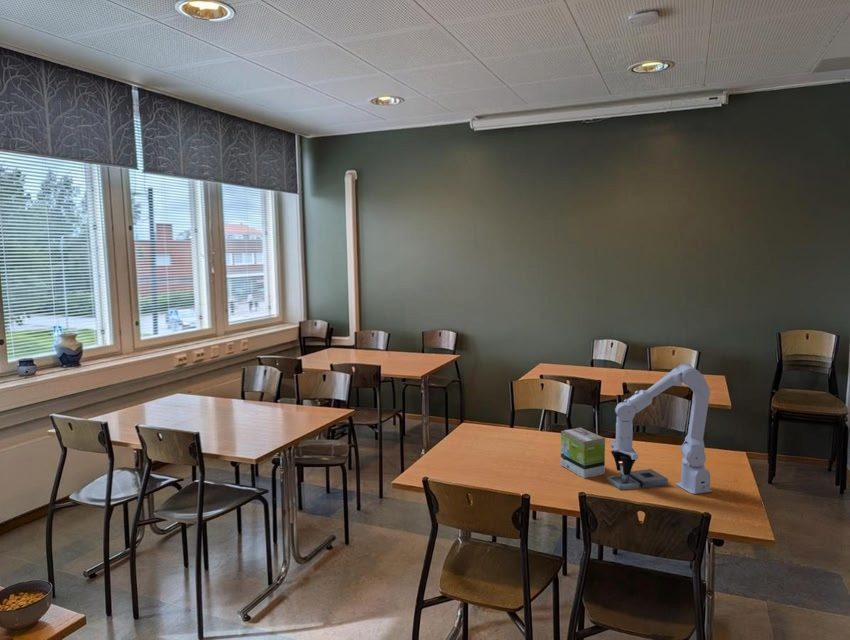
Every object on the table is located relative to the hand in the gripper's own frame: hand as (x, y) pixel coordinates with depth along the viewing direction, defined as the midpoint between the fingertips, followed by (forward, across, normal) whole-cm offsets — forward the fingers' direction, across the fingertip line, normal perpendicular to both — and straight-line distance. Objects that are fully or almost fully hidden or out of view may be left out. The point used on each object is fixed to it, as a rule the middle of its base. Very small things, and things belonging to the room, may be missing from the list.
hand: (623, 472), depth 213 cm
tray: (+4, 0, 0) cm, 4 cm away
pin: (+3, 0, +1) cm, 4 cm away
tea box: (+5, -16, -8) cm, 19 cm away
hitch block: (+4, 0, +10) cm, 10 cm away
